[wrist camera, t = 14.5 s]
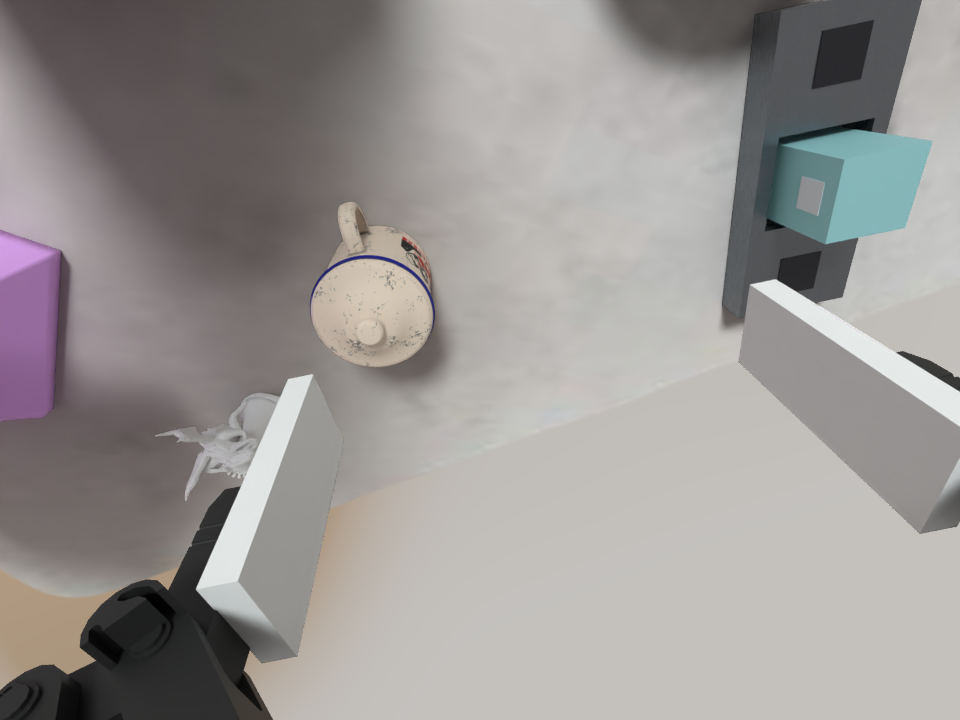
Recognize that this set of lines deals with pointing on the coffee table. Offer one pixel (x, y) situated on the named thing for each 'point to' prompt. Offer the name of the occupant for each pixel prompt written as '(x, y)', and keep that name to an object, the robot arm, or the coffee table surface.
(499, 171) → the coffee table surface
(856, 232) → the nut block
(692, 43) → the coffee table surface
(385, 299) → the teacup with lid
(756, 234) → the grey flat slotted block
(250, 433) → the figurine
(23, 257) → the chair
